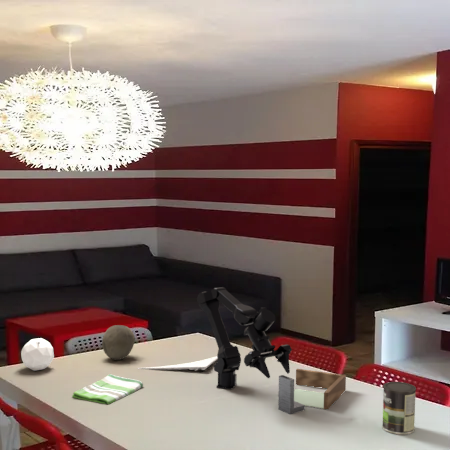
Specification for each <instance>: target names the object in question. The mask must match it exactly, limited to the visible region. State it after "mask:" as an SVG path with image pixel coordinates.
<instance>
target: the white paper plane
mask: <svg viewBox="0 0 450 450" xmlns="http://www.w3.org/2000/svg"><path fill="white" fill-rule="evenodd" d="M217 361H218V358H217V355H216V356H212V357H209V358H205V359H201V360H197V361H192V362H184V363H178V364H172V365H171V364H170V365H161V366H150V367H149V366H148V367H147V366H146V367H137V368H136V369H138V370H159V371H160V370H161V371H162V370H163V371H169V370H170V371H171V370H173V371H174V370H176V371H177V370H178V371H179V370H182V371H183V370H184V371H185V370H189V371H199V370H201V371H205V370H206V369H207V368H209V367H210V366H211V365H212V364H214V363H216V362H217Z"/></svg>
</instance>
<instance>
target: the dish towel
mask: <svg viewBox="0 0 450 450" xmlns="http://www.w3.org/2000/svg"><path fill="white" fill-rule="evenodd" d="M143 386H144V383H143V382H142V381H141V380H138V379H133V378H129V377H127V378H126V377H122V376H118V375H114V374H111V373H109V374H107V376H104V377H103V378H102V379H100V380H98V381H95V382H92V384H90V385H86V386H84V387H82V388H80V389H77V390H76V391H74V392H73V393H72V395H71V397H72V398H75V399H79V400H84V401H89V402H93V403H94V402H95V403H100V404H103V405H110V404H112V403H114V402H116V401H119V400H121V399H123V398H125V397H126V396H128V395H131V394H134V393H135V392H137V391H138V390H140V389H142V388H143Z"/></svg>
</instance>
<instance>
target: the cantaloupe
mask: <svg viewBox="0 0 450 450" xmlns="http://www.w3.org/2000/svg"><path fill="white" fill-rule="evenodd" d="M101 345H102V349H103V352H104V354H105V355H106V356H107V357H108V358H110V359H112V360H114V361H122V360H123V359H125V358H127V357H128V356H129V355H130V353H131V352H132V350H133V348H134V346H135V334H134V332H133V331H132V330H131V328H130V327H128V326H126V325H121V324H117V325H116V324H115V325H112V326H110V327H108V328H107V329H106V331H105V332H104V335H103V337H102V343H101Z"/></svg>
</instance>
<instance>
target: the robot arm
mask: <svg viewBox="0 0 450 450" xmlns="http://www.w3.org/2000/svg"><path fill="white" fill-rule="evenodd" d="M196 301H197V304H198V306H199V308H200V310H201V311H202V312H203V313H205V315H206V316H207V319H208V322H209V324H210V328H211V331H212V333H213V337H214V339H215V341H216V345H217V347H218V349H217V355H216V356H217V358H218V359H217V360H216V361H215V362H214V364H213V370H214V372H216V373H217V385H216V388H217V389H218V388H219V389H229V390H233V389H234V388H235V387H236V386H237V380H238V378H237V377H238V376H237V373H236V371H239V370H240V366H241V363H242V358H241V353H240V351H239V348H238V346H237V345H233V344H231V341H230V339H229V335H228V333H227V330H226V326H225V324H224V322H223V319H222V316H221V313H220V310H219V309H220V305H221V304H222V305H223V306H224V307H226V308H227V310H229V311H230V313H231V312H232V314H233V318H234V320H235V321H236V322H237V323H238V325H239V326H247V327H244V330H243V336H248V337H249V339H250V342H251V343H252V345H251V349H252V350H251V351H249V352H248V353H247V354H246V355H245V356H244V359H243V362H244V365H245V366H246V367H250V368H255V369H257V370H258V371H259V372H261V374H263V375H264V377H266V378H267V379H270V378H271V374H270V371H269V368H268V366H267V364H266V360H267V359H266V358H272V357H274V358H275V359H276V362H278V363H280V364H281V366H282V368H283V369H284V371H285V372H286V373H287V374H288V375H289V374H290V371H291V370H290V369H291V367H290V354H291V352H292V351H293V349H292V347H291V346H290V344H282V345H280V346H278V347H277V348H276V345H275V344H272V343H271V341H270V339H271V336H270V335H267V334H266V332H267V331H268V329H270V327H271V326H272V325H273V324H274V322H276V315H275V314H274V313H273V312H272V311H271V310H270V309H267V307H260V309H259V310H258V311H257V310H256V309H255V308H254V307H252V306H250V305H247V304H243V303H242V302H240V301H239V299H237V298H236V297H235V296H234V295H233V294H231V293H230V292H229V291H228V290H227V288H226V287H224V286H222V287H214V288H213V289H211V290H208V291H200V292H199V293H198V295H197V297H196ZM275 349H276V350H275Z"/></svg>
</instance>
